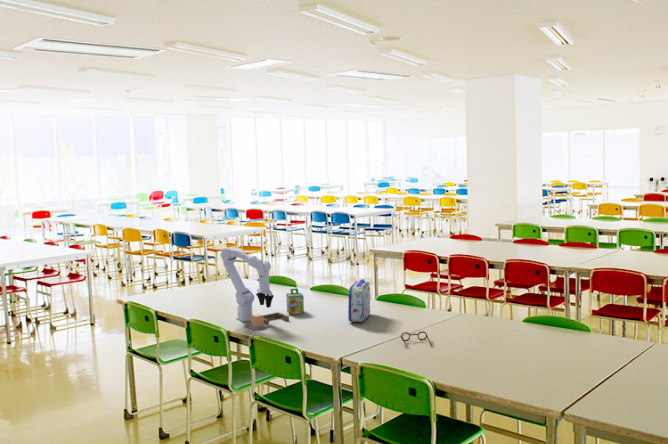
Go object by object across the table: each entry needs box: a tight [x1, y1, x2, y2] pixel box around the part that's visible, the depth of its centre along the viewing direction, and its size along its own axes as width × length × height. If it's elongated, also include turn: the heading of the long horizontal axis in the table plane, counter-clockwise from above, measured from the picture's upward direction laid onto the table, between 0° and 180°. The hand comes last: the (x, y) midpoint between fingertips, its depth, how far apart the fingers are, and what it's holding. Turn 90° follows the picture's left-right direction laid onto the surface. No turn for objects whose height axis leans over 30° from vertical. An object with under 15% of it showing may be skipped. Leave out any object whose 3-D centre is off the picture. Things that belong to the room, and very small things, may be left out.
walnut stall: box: [262, 311, 290, 326], centre depth 334 cm, size 12×14×3 cm
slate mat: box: [244, 323, 272, 331], centre depth 324 cm, size 12×10×1 cm
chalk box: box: [285, 287, 305, 316], centre depth 352 cm, size 9×9×15 cm
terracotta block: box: [250, 313, 264, 327], centre depth 324 cm, size 5×5×6 cm
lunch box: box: [347, 279, 371, 323], centre depth 333 cm, size 28×10×22 cm, turn 168°
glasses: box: [400, 331, 433, 350], centre depth 283 cm, size 13×13×5 cm
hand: (265, 306), depth 332 cm, fingers open, 7 cm apart
